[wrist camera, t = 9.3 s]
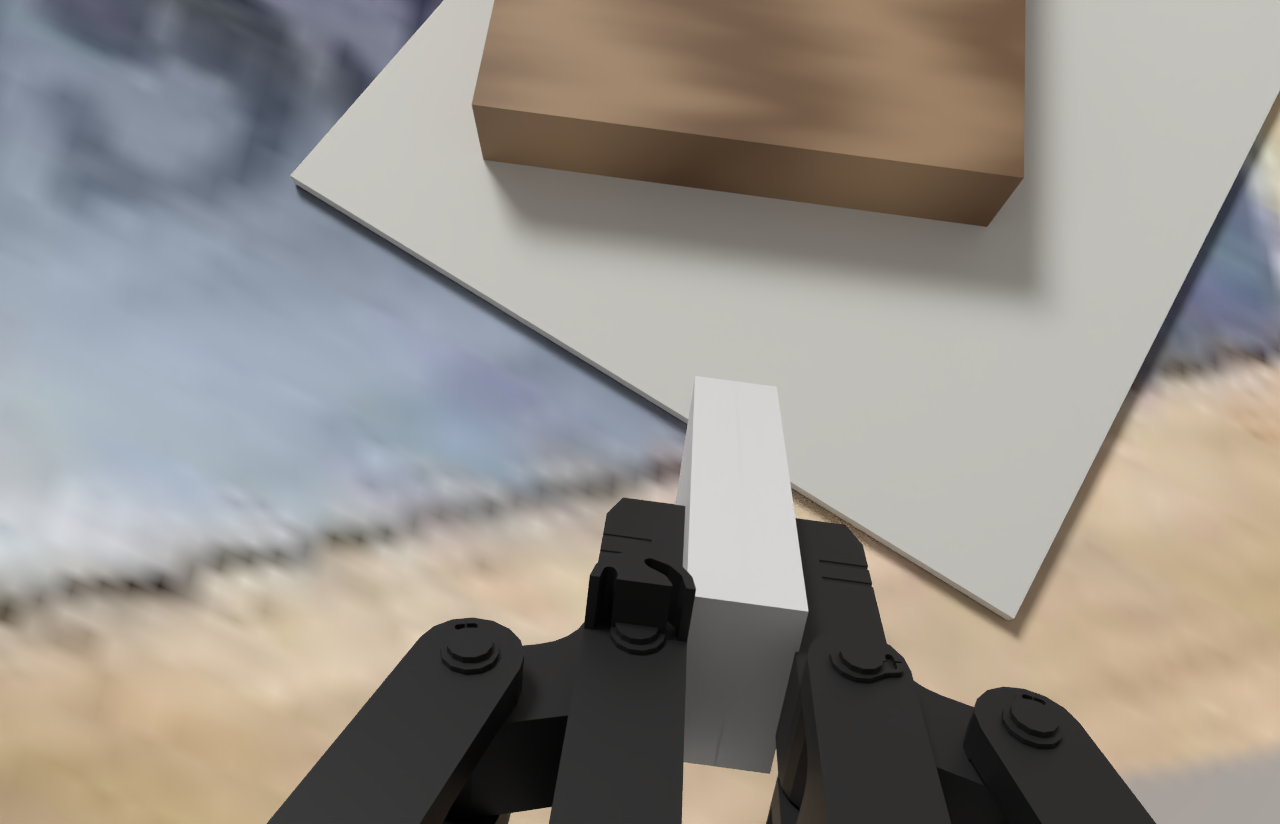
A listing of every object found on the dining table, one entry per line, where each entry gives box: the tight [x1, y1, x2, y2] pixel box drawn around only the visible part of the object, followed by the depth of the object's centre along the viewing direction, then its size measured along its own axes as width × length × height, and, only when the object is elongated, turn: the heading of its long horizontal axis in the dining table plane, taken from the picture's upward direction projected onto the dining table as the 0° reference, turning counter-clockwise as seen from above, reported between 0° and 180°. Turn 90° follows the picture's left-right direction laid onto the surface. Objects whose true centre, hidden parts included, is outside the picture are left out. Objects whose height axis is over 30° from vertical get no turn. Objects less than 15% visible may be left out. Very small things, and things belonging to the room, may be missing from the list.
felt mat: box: [290, 0, 1280, 620], centre depth 29 cm, size 22×24×1 cm
